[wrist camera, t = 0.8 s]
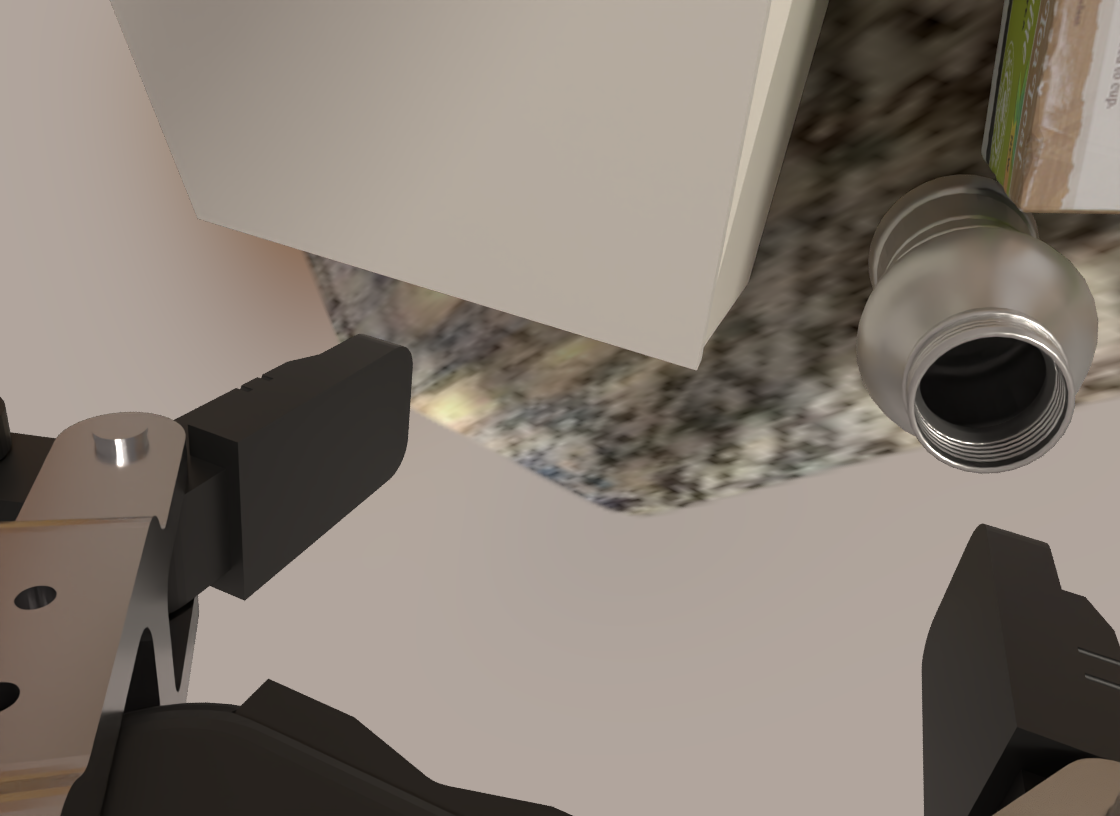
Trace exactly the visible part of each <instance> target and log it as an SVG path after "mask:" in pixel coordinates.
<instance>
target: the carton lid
mask: <svg viewBox="0 0 1120 816" xmlns="http://www.w3.org/2000/svg"><path fill="white" fill-rule="evenodd" d="M110 2H111V5H112V7H113V9H114V12H115V15H116V17H117V20H118V22H119V25H120V27H121V30H122V32H123V35H124V37H125V40H126V42H127V44H128V47H129V50H130V52H131V55H132V57H133V60H134V62H135V64H136V67H137V69H138V72H139V74H140V77H141V79H142V82H143V84H144V87H145V89H146V92H147V94H148V97H149V99H150V102H151V104H152V107H153V109H154V111H155V114H156V117H157V119H158V122H159V124H160V127H161V129H162V132H163V134H164V137H165V139H166V141H167V144H168V147H169V149H170V152H171V154H172V157H173V159H174V161H175V164H176V166H177V169H178V171H179V174H180V176H181V179H182V181H183V184H184V186H185V189H186V191H187V194H188V196H189V199H190V201H191V204H192V206H193V209H194V211H195V214H196V216H197V218H198V219H200V220H203V221H207V222H210V223H213V224H217V225H220V226H223V227H226V228H230V229H233V230H236V231H240V232H243V233H246V234H250V235H253V236H256V237H259V238H263V239H266V240H269V241H273V242H276V243H279V244H282V245H286V246H289V247H292V248H296V249H299V250H302V251H305V252H309V253H312V254H315V255H319V256H322V257H325V258H328V259H332V260H335V261H338V262H342V263H345V264H348V265H351V266H355V267H358V268H361V269H365V270H368V271H371V272H374V273H378V274H381V275H384V276H388V277H391V278H394V279H397V280H401V281H404V282H407V283H411V284H414V285H417V286H420V287H424V288H427V289H430V290H434V291H437V292H440V293H443V294H447V295H450V296H453V297H457V298H460V299H463V300H466V301H470V302H473V303H476V304H480V305H483V306H486V307H489V308H493V309H496V310H499V311H503V312H506V313H509V314H512V315H516V316H519V317H522V318H526V319H529V320H532V321H535V322H539V323H542V324H545V325H549V326H552V327H555V328H558V329H562V330H565V331H568V332H572V333H575V334H578V335H581V336H585V337H588V338H591V339H595V340H598V341H601V342H604V343H608V344H611V345H614V346H618V347H621V348H624V349H627V350H631V351H634V352H637V353H641V354H644V355H647V356H650V357H654V358H657V359H660V360H664V361H667V362H670V363H673V364H677V365H680V366H683V367H687V368H690V369H693V370H696V371H697V369H698V366H699V364H700V362H701V359H702V354H703V349H704V344H705V339H706V334H707V329H708V324H709V319H710V313H711V308H712V303H713V298H714V293H715V288H716V283H717V278H718V273H719V268H720V262H721V257H722V252H723V247H724V242H725V237H726V232H727V227H728V222H729V217H730V211H731V206H732V201H733V196H734V191H735V186H736V181H737V176H738V171H739V166H740V160H741V155H742V150H743V145H744V140H745V135H746V130H747V125H748V120H749V114H750V109H751V104H752V99H753V94H754V89H755V84H756V79H757V74H758V69H759V63H760V58H761V53H762V48H763V43H764V38H765V33H766V28H767V23H768V18H769V12H770V7H771V2H772V0H110Z"/></svg>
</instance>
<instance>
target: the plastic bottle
mask: <svg viewBox="0 0 1120 816" xmlns="http://www.w3.org/2000/svg"><path fill="white" fill-rule="evenodd" d="M868 266H869V276H870V280H871V284H872V288H873V291H872V293H871V294H870V296H869V298H868V301H867V303H866V305H865V308H864V311H863V313H862V316H861V319H860V321H859V326H858V333H857V339H856V351H857V364H858V367H859V371H860V374H861V378H862V381H863V383H864V385H865V387H866V389H867V391H868V393H869V395H870V396H871V398H872V399H873V401H874V402H875V403H876V404H877V405H878V407H879V408H880V409H881V410H882V411H883V413H884V414H885V415H886V416H887V417H888V418H890V419H891V420H892V421H893V422H895V423H896V424H897V425H898V426H900V427H901V428H902V429H903V430H905V431H906V432H908V433H910V434H912V435H914V436H916V437H917V439H918V441H919V442H920V443H921V444H922V445H923V447H924V448H925V449H926V450H927V451H928V452H929V453H930V454H932V455H933V456H934V457H935V458H936V459H938V460H939V461H941V462H943V463H945V464H947V465H949V466H951V467H953V468H957V469H960V470H963V471H967V472H974V473H1000V472H1005V471H1010V470H1014V469H1017V468H1020V467H1022V466H1025V465H1028V464H1030V463H1031V462H1033V461H1035V460H1036V459H1038V458H1040V457H1042V456H1043V455H1044V454H1045V453H1047V452H1048V451H1049V450H1050V449H1051V448H1053V447H1054V446H1055V444H1056V443H1057V442H1058V441H1059V439H1060V438H1061V437H1062V436H1063V435H1064V433H1065V431H1066V429H1067V427H1068V426H1069V424H1070V422H1071V419H1072V415H1073V412H1074V408H1075V395H1076V394H1077V392H1078V391H1079V389H1080V387H1081V385H1082V383H1083V381H1084V379H1085V377H1086V375H1087V373H1088V371H1089V369H1090V366H1091V364H1092V360H1093V357H1094V353H1095V349H1096V346H1097V339H1098V317H1097V312H1096V307H1095V302H1094V298H1093V296H1092V294H1091V292H1090V289H1089V287H1088V285H1087V283H1086V281H1085V279H1084V278H1083V276H1082V275H1081V274H1080V273H1079V272H1078V270H1077V269H1076V268H1075V267H1074V265H1073V264H1072V263H1071V262H1070V261H1069V260H1068V259H1067V258H1065V257H1064V256H1063V255H1061V254H1060V253H1059V252H1057V251H1056V250H1055V249H1054V248H1052V247H1051V246H1049V245H1048V244H1047V243H1045V242H1043V241H1041V240H1039V234H1038V229H1037V224H1036V221H1035V219H1034V217H1033V215H1032V213H1025V212H1022V211H1020V210H1019V209H1018V208H1017V206H1016V205H1015V204H1014V203H1013V202H1012V201H1011V200H1010V199H1009V198H1008V196H1007V194H1006V193H1005V191H1004V188H1003V186H1002V185H1001V184H1000V183H999V182H998V181H996V180H994V179H991V178H987V177H982V176H978V175H963V174H957V175H951V176H945V177H940V178H937V179H934V180H931V181H928V182H925V183H923V184H921V185H920V186H918V187H916V188H914V189H912V190H911V191H909V192H908V193H906V194H905V195H904V196H903V197H901V198H900V199H899V200H898V201H897V202H895V203H894V205H893V206H892V207H891V208H890V209H889V210H888V212H887V213H886V214H885V215H884V217H883V218H882V220H881V222H880V223H879V225H878V227H877V228H876V231H875V233H874V236H873V239H872V242H871V244H870V251H869V257H868Z"/></svg>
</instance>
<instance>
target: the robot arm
mask: <svg viewBox="0 0 1120 816" xmlns="http://www.w3.org/2000/svg"><path fill="white" fill-rule="evenodd" d="M412 368H413V362H412V356H411V353H410V351H409V350H408V348H406V347H404V346H400V345H397V344H394V343H390V342H387V341H384V340H381V339H377V338H374V337H371V336H367V335H364V334H358V335H356V336H354V337H352V338H350V339H348V340H346V341H344V342H342V343H340V344H338V345H337V346H335V347H333V348H331V349H329V350H327V351H325V352H323V353H321V354H319V355H315V356H311V357H306V358H302V359H298V360H293V361H289V362H286V363H284V364H282V365H280V366H278V367H276V368H275V369H272V370H271V371H269V372H267V373H265V374H263V375H262V378H258V377H257V378H255V379H253V380H251V381H249V382H247V383H245V384H243V385H242V386H241V389H237V388H235V389H233V390H232V391H230V392H228V393H226V394H224V395H222V396H220V397H218V398H216V399H214V400H212V401H210V402H208V403H206V404H204V405H203V406H200V407H199V408H197V409H195V410H192V411H191V412H189V413H187V414H185V415H183V416H181V417H179V418H177V419H175V420H172V419H170V418H167V417H164V416H161V415H156V414H152V413H143V412H120V413H112V414H106V415H100V416H96V417H92V418H89V419H86V420H83V421H80V422H78V423H76V424H74V425H72V426H70V427H68V428H67V429H65V430H64V431H63V432H62V433H60V435H58V437H57V438H48V437H41V436H33V435H25V434H18V433H11V432H10V429H9V423H8V418H7V413H6V407H5V403H4V401H3V400H2V398H1V397H0V816H572V815H570V814H568V813H566V812H563V811H561V810H559V809H556V808H554V807H551V806H547V805H542V804H537V803H532V802H527V801H521V800H516V799H511V798H506V797H500V796H496V795H491V794H486V793H481V792H476V791H471V790H466V789H461V788H455V787H450V786H446V785H443V784H439V783H437V782H435V781H432V780H431V779H430V778H428V777H426V776H425V775H424V774H423V773H422V772H421V771H419V770H418V769H417V768H416V767H414V766H413V765H412V764H411V763H409V762H408V761H407V760H406V759H405V758H403V757H402V756H401V755H400V754H398V753H397V752H396V751H395V750H394V749H392V748H391V747H390V746H389V745H387V744H386V743H385V742H384V741H383V740H381V739H380V738H379V737H378V736H376V735H375V734H374V733H373V732H372V731H370V730H369V729H368V728H367V727H365V726H364V725H363V724H362V723H360V722H359V721H358V720H357V719H356V718H354V717H352V716H350V715H348V714H346V713H343V712H341V711H339V710H337V709H334V708H332V707H330V706H328V705H326V704H323V703H321V702H319V701H317V700H314V699H312V698H310V697H308V696H306V695H303V694H301V693H299V692H297V691H295V690H292V689H290V688H288V687H286V686H283V685H281V684H279V683H277V682H275V681H272V680H270V679H268V680H267V681H266V682H265V683H264V684H262V685H261V686H260V688H259V689H257V690H256V692H254V693H253V694H252V696H250V698H248V699H247V700H246V701H245V702H244V703H243V704H242V705H241V706H237V705H232V704H219V703H186V698H187V692H188V685H189V678H190V672H191V664H192V658H193V651H194V644H195V638H196V631H197V624H198V617H199V604H198V594H199V593H201V592H202V591H204V590H205V589H206V588H207V587H209V586H212V587H214V588H216V589H219V590H221V591H223V592H226V593H228V594H231V595H233V596H235V597H238V598H240V599H243V600H246V599H247V598H248V597H249V596H251V595H252V594H253V593H254V592H255V591H257V590H258V589H259V588H260V587H262V586H263V585H264V584H265V583H266V582H267V581H269V580H270V579H271V578H272V577H273V576H275V574H277V573H278V572H279V571H280V570H282V569H283V568H284V567H285V566H286V565H288V564H289V563H290V562H291V561H293V560H294V559H295V558H296V557H297V556H298V555H300V554H301V553H302V552H303V551H304V550H306V549H307V548H308V547H309V546H310V545H312V544H313V543H314V542H315V541H316V540H318V539H319V538H320V537H321V536H322V535H324V534H325V533H326V532H327V531H328V530H329V529H331V528H332V527H333V526H334V525H335V524H337V523H338V522H339V521H340V520H341V519H342V518H344V517H345V516H346V515H347V514H349V513H350V512H351V511H352V510H353V509H355V508H356V507H357V506H358V505H359V504H361V503H362V502H363V501H364V500H365V499H367V498H368V497H369V496H370V495H371V494H373V493H374V492H375V491H376V490H377V489H378V488H380V487H381V486H382V485H383V484H384V483H386V482H387V481H388V480H389V479H390V478H391V477H392V476H393V475H394V474H395V472H396V471H397V469H398V468H399V466H400V464H401V462H402V460H403V457H404V454H405V451H406V447H407V442H408V429H409V414H410V399H411V384H412ZM922 709H923V710H922V712H923V713H922V714H923V772H924V773H923V775H924V816H1120V646H1119V643H1118V640H1117V637H1116V634H1115V631H1114V630H1113V629H1112V627H1111V626H1110V625H1109V624H1108V623H1107V622H1106V621H1105V619H1104V618H1103V617H1102V616H1101V615H1100V614H1099V612H1098V611H1097V610H1096V609H1095V608H1094V607H1093V605H1092V604H1091V603H1090V602H1089V601H1088V600H1087V598H1086V597H1084V596H1080V595H1077V594H1074V593H1071V592H1068V591H1064V590H1062V589H1061V586H1060V582H1059V578H1058V575H1057V571H1056V568H1055V564H1054V560H1053V556H1052V553H1051V549H1050V547H1049V545H1048V544H1047V543H1045V542H1042V541H1039V540H1035V539H1032V538H1029V537H1025V536H1022V535H1019V534H1016V533H1012V532H1009V531H1006V530H1002V529H999V528H996V527H992V526H989V525H986V524H980V525H979V526H978V527H977V528H976V529H975V531H974V532H973V534H972V536H971V538H970V540H969V542H968V544H967V546H966V548H965V551H964V553H963V555H962V557H961V559H960V562H959V564H958V566H957V568H956V570H955V573H954V575H953V577H952V580H951V581H950V584H949V586H948V588H947V590H946V593H945V595H944V597H943V599H942V601H941V604H940V606H939V608H938V610H937V612H936V615H935V617H934V619H933V622H932V624H931V627H930V630H929V633H928V636H927V640H926V644H925V649H924V654H923V660H922Z"/></svg>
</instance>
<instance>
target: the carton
mask: <svg viewBox="0 0 1120 816" xmlns="http://www.w3.org/2000/svg"><path fill="white" fill-rule="evenodd" d="M828 3H829V0H772V2H771V7H770V12H769V18H768V23H767V28H766V33H765V38H764V43H763V48H762V53H761V58H760V63H759V69H758V74H757V79H756V84H755V89H754V94H753V99H752V104H751V109H750V114H749V120H748V125H747V130H746V135H745V140H744V145H743V150H742V155H741V160H740V166H739V171H738V176H737V181H736V186H735V191H734V196H733V201H732V206H731V211H730V217H729V222H728V227H727V232H726V237H725V242H724V247H723V252H722V257H721V262H720V268H719V273H718V278H717V283H716V288H715V293H714V298H713V303H712V308H711V313H710V319H709V324H708V329H707V334H706V339H705V344H706V343H707V341H708V340H709V339H710V337H711V336H712V334H713V333H714V331H715V330H716V329H717V327H718V326H719V324H720V323H721V321H722V320H723V319H724V317H725V316H726V314H727V313H728V311H729V310H730V308H731V307H732V306H733V304H734V303H735V301H736V300H737V298H738V297H739V296H740V294H741V293H742V291H743V290H744V288H745V287H746V286H747V284H748V282H749V279H750V275H751V272H752V268H753V265H754V261H755V258H756V254H757V251H758V247H759V244H760V240H761V237H762V234H763V230H764V227H765V223H766V220H767V216H768V213H769V209H770V206H771V202H772V199H773V195H774V192H775V188H776V185H777V181H778V178H779V174H780V171H781V167H782V164H783V160H784V157H785V153H786V150H787V146H788V143H789V139H790V136H791V132H792V129H793V125H794V122H795V118H796V115H797V111H798V108H799V104H800V101H801V97H802V94H803V90H804V87H805V83H806V80H807V76H808V73H809V69H810V66H811V62H812V59H813V55H814V52H815V48H816V45H817V41H818V38H819V34H820V31H821V27H822V24H823V20H824V17H825V13H826V10H827V6H828ZM705 344H704V346H705Z"/></svg>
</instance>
